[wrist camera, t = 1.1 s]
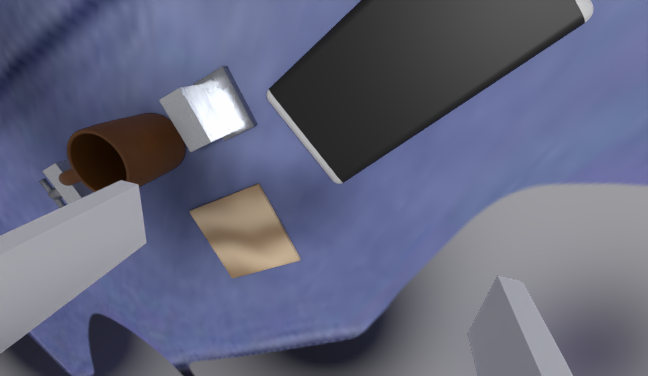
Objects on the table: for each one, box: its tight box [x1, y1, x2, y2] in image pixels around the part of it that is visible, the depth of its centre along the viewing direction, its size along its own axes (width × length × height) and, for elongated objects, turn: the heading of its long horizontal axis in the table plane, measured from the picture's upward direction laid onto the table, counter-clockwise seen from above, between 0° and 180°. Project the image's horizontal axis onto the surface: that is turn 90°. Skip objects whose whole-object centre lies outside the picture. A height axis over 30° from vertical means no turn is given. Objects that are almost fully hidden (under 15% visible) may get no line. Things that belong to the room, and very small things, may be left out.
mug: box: [59, 113, 185, 192], centre depth 36 cm, size 12×8×9 cm, turn 112°
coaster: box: [189, 183, 301, 278], centre depth 42 cm, size 12×12×1 cm
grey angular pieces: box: [39, 66, 258, 208], centre depth 38 cm, size 7×33×5 cm, turn 116°
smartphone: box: [267, 0, 593, 184], centre depth 29 cm, size 13×27×2 cm, turn 130°
